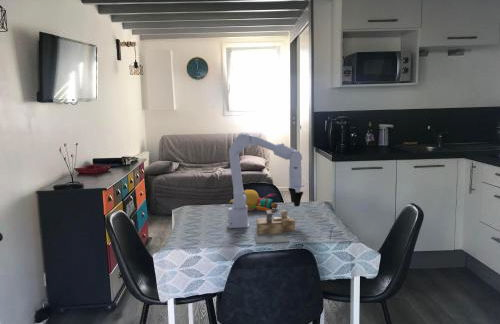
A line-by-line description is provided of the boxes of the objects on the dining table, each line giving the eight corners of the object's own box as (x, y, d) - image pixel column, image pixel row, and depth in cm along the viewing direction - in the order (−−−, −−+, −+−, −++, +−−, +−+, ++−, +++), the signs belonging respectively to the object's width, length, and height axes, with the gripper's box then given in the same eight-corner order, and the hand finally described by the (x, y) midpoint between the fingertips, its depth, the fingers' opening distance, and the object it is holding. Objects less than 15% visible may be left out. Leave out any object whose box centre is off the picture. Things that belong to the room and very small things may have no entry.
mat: (256, 243, 184) (256, 242, 184) (254, 235, 196) (254, 234, 196) (289, 242, 185) (289, 241, 185) (286, 233, 197) (286, 233, 197)
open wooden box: (257, 234, 198) (257, 223, 197) (256, 228, 207) (256, 218, 206) (295, 232, 198) (295, 222, 198) (293, 226, 207) (293, 216, 207)
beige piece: (273, 220, 200) (273, 212, 200) (273, 219, 203) (273, 210, 203) (289, 220, 201) (289, 211, 200) (288, 218, 203) (288, 210, 203)
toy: (278, 209, 250) (235, 201, 254) (281, 190, 248) (238, 183, 253) (272, 218, 231) (226, 210, 236) (275, 198, 229) (229, 190, 234)
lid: (257, 227, 197) (257, 214, 196) (256, 222, 206) (256, 209, 205) (282, 226, 198) (282, 213, 197) (280, 221, 207) (280, 208, 206)
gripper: (306, 178, 201) (306, 207, 202) (301, 173, 215) (301, 200, 217) (291, 178, 200) (291, 208, 202) (286, 173, 215) (287, 201, 216)
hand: (295, 204), depth 209 cm, fingers open, 7 cm apart
